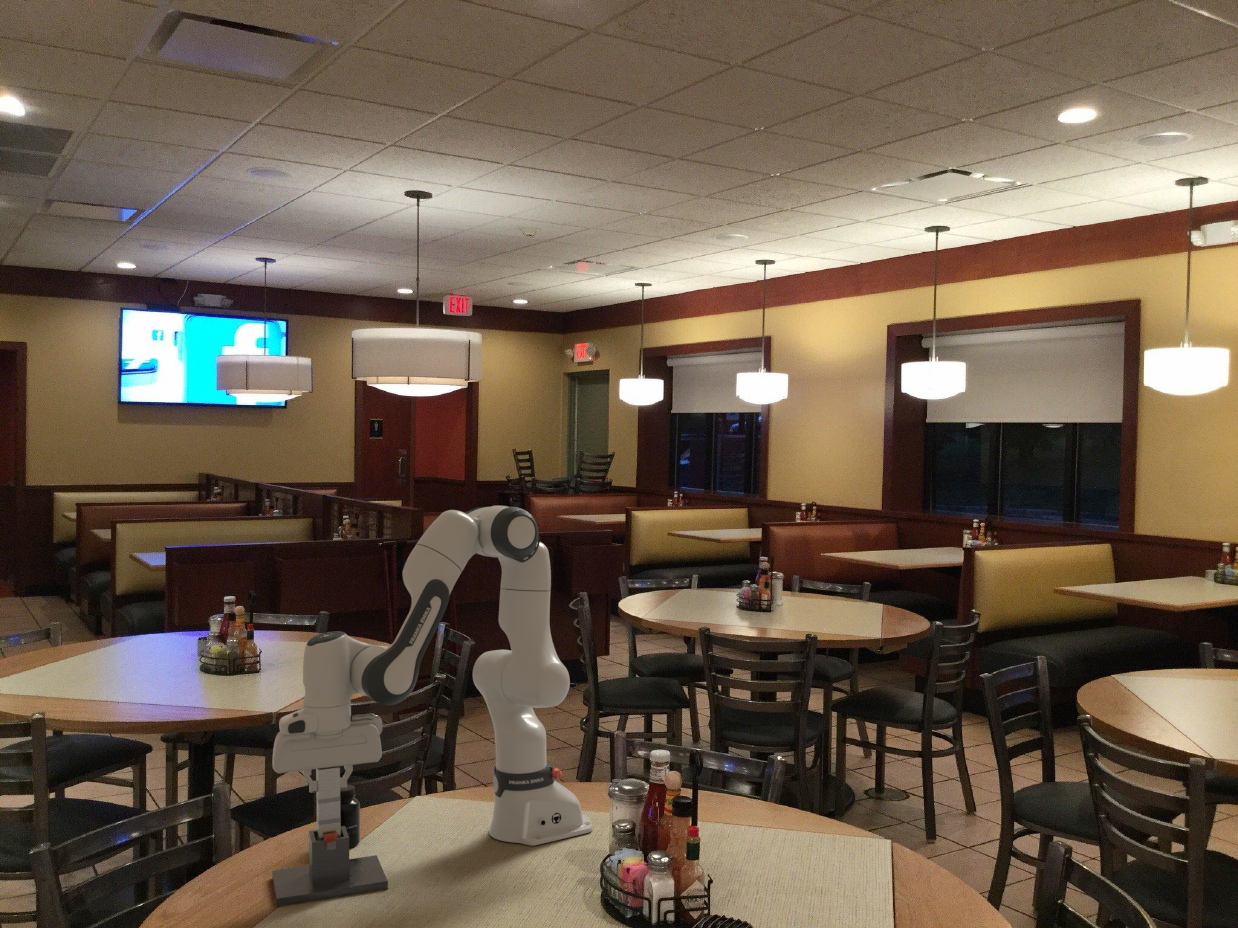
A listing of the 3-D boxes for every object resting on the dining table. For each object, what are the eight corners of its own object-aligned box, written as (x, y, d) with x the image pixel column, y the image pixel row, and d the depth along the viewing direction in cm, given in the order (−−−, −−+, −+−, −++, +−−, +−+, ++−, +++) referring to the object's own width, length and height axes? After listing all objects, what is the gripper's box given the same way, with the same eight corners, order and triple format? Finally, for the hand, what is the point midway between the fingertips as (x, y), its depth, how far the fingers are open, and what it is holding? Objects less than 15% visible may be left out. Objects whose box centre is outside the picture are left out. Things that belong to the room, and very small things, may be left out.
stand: (376, 862, 206) (376, 810, 206) (387, 888, 193) (387, 833, 193) (272, 878, 199) (271, 824, 199) (276, 906, 186) (276, 849, 186)
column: (338, 843, 199) (337, 761, 199) (341, 851, 195) (340, 767, 195) (316, 846, 197) (315, 764, 197) (318, 854, 193) (317, 770, 193)
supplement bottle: (351, 851, 212) (350, 793, 212) (320, 849, 214) (320, 792, 214) (365, 839, 219) (365, 783, 219) (336, 837, 221) (335, 781, 221)
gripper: (379, 708, 203) (380, 778, 203) (271, 719, 195) (272, 791, 195) (384, 715, 197) (385, 787, 197) (273, 727, 189) (273, 801, 189)
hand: (328, 789), depth 196 cm, fingers closed on column, 4 cm apart
